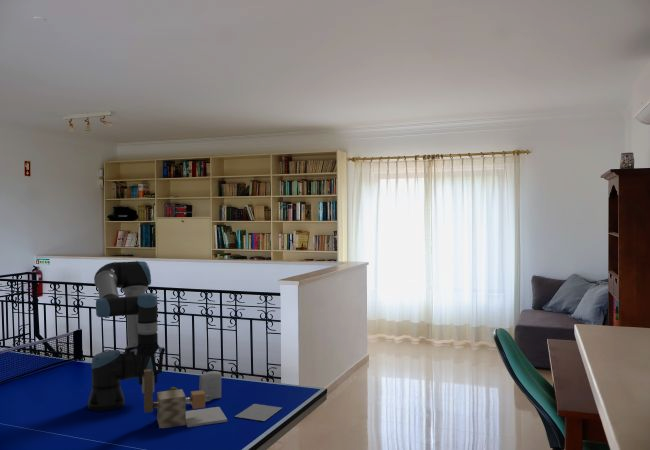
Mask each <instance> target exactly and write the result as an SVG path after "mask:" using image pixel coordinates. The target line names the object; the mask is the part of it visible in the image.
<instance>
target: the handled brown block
mask: <svg viewBox="0 0 650 450" xmlns="http://www.w3.org/2000/svg"><path fill="white" fill-rule="evenodd" d="M153 398H154V392H153V380H152V369H144V393H143V411H144V413H147V414H148V413H153V411H154V409H155V408H156V409H157V408H158V407H159V401H157V400H156V401H153V400H154V399H153ZM210 401H212V399H211V395H205V402H210ZM191 403H192V397H191V396H190V397H189V396H188V397H187V396H186V405H187V404H191Z"/></svg>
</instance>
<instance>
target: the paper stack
mask: <svg viewBox="0 0 650 450" xmlns="http://www.w3.org/2000/svg"><path fill="white" fill-rule="evenodd" d="M281 409H283V407H282V406H281V407H280V406H273V405H265V404H259V403H253V404H251V405H250V406H248V407H247V408H245V409H244V410H243V411H241V412H239V413H237V414H236V415H235V416H234V417H236V418H240V419H249V420H253V421H262V422H265V421H267V420H268V419H269V418H271V417H272V416H274V415H275V414H276V413H277V412H279V411H280V410H281Z"/></svg>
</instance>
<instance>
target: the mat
mask: <svg viewBox="0 0 650 450" xmlns="http://www.w3.org/2000/svg"><path fill="white" fill-rule="evenodd" d="M227 422H228V418H227V417H226V415H225V413H224V412H223V410H222V409H221V407H220V406H216V407H215V406H214V407H208V408H207V407H205V408H197V409H191V410H186V425H185V426H186V427H187V428H192V427H199V426H200V427H201V426H205V425H214V424H220V423H227Z"/></svg>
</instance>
